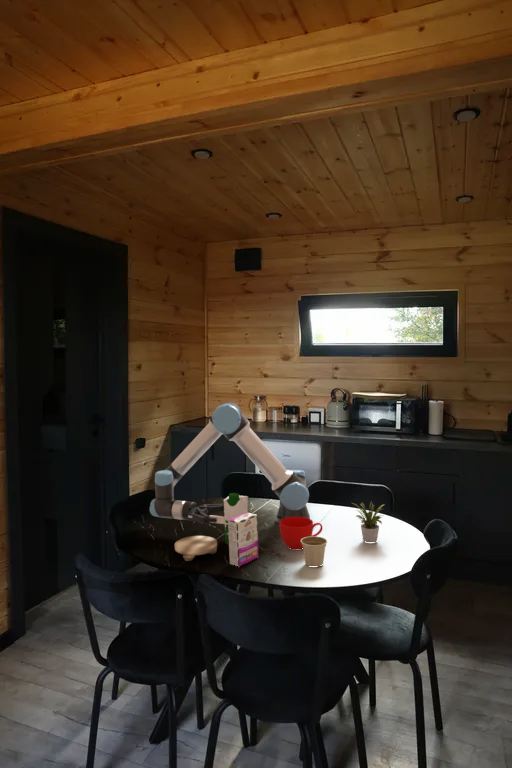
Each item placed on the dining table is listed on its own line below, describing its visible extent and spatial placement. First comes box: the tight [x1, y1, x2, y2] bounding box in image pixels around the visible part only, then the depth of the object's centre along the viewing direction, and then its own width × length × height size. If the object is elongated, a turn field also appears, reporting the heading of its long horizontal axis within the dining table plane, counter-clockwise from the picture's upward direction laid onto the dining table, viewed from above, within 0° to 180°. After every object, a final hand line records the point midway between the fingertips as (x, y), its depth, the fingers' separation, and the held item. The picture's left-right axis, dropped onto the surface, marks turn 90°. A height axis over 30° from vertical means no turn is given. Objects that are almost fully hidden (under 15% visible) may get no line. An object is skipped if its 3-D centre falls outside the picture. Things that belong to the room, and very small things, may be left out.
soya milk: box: [223, 492, 249, 545], centre depth 210 cm, size 9×9×20 cm
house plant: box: [351, 501, 386, 543], centre depth 207 cm, size 14×14×16 cm
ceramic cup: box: [279, 517, 323, 550], centre depth 203 cm, size 13×17×10 cm
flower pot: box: [301, 535, 328, 567], centre depth 186 cm, size 9×9×9 cm
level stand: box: [174, 535, 218, 562], centre depth 199 cm, size 16×16×4 cm
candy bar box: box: [228, 512, 260, 568], centre depth 190 cm, size 11×5×16 cm, turn 139°
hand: (232, 515), depth 210 cm, fingers open, 13 cm apart
